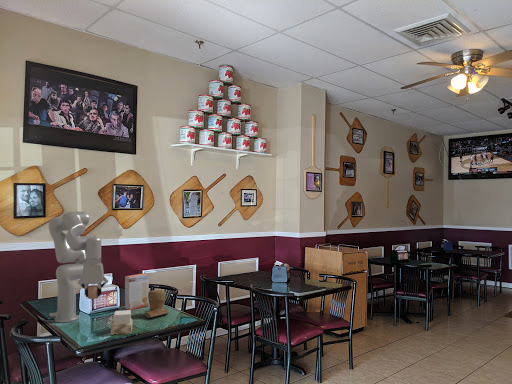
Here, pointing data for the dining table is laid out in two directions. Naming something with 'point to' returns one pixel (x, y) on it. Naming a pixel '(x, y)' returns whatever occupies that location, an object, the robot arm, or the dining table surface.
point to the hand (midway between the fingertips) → (93, 296)
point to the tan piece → (156, 303)
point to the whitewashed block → (122, 317)
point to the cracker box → (136, 291)
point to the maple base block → (121, 328)
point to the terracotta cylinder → (92, 291)
